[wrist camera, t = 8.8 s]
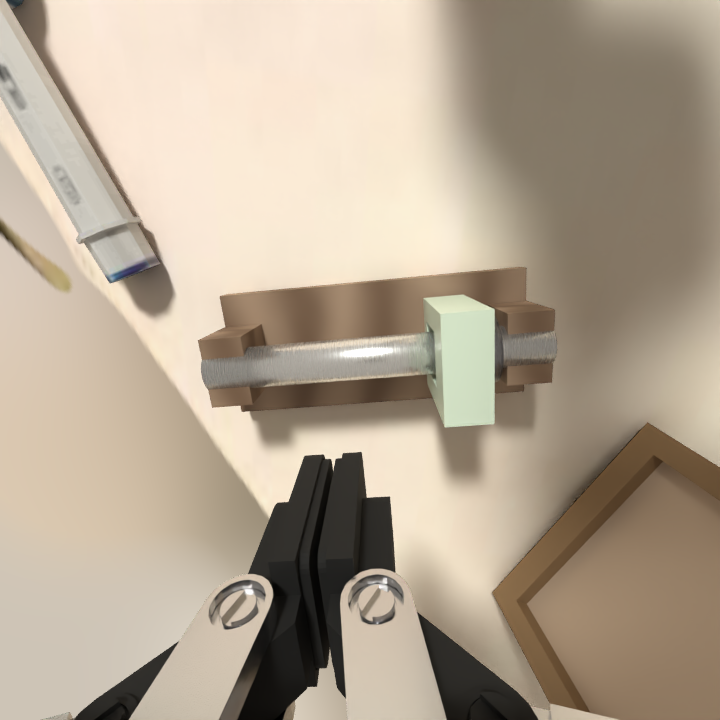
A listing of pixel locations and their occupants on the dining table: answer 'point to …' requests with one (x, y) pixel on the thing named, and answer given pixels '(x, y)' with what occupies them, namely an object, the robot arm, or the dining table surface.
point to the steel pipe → (362, 359)
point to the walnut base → (365, 332)
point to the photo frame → (628, 590)
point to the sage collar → (462, 359)
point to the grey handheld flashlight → (68, 157)
